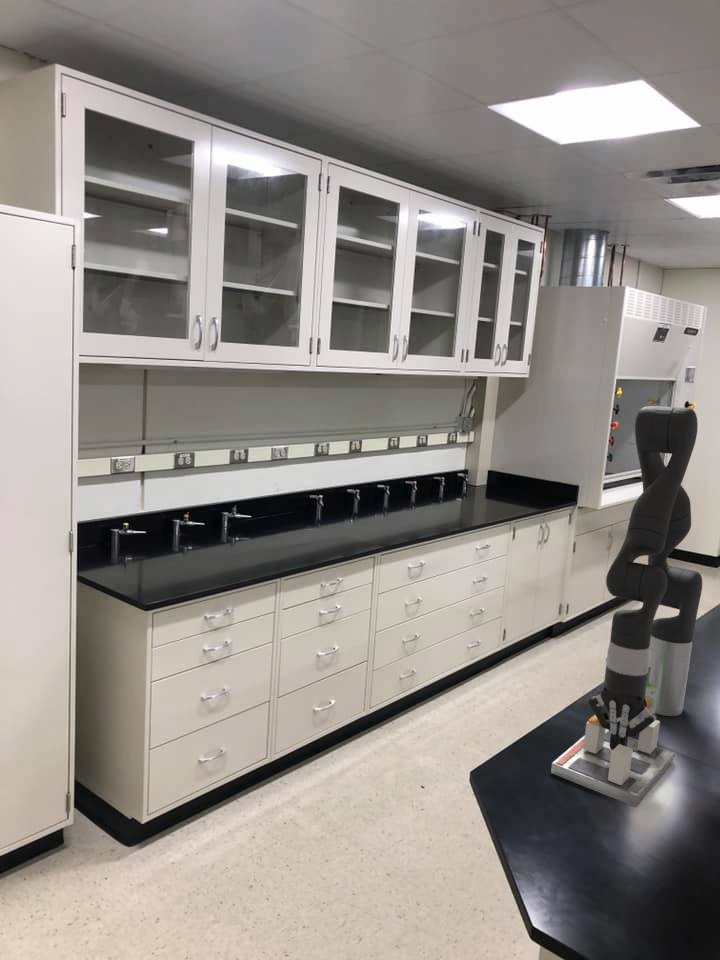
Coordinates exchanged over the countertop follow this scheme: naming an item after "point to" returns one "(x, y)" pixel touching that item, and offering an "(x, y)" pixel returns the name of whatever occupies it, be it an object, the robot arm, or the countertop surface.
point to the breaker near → (620, 764)
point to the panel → (595, 769)
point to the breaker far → (649, 738)
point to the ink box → (647, 700)
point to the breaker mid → (594, 735)
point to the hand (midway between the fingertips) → (617, 752)
